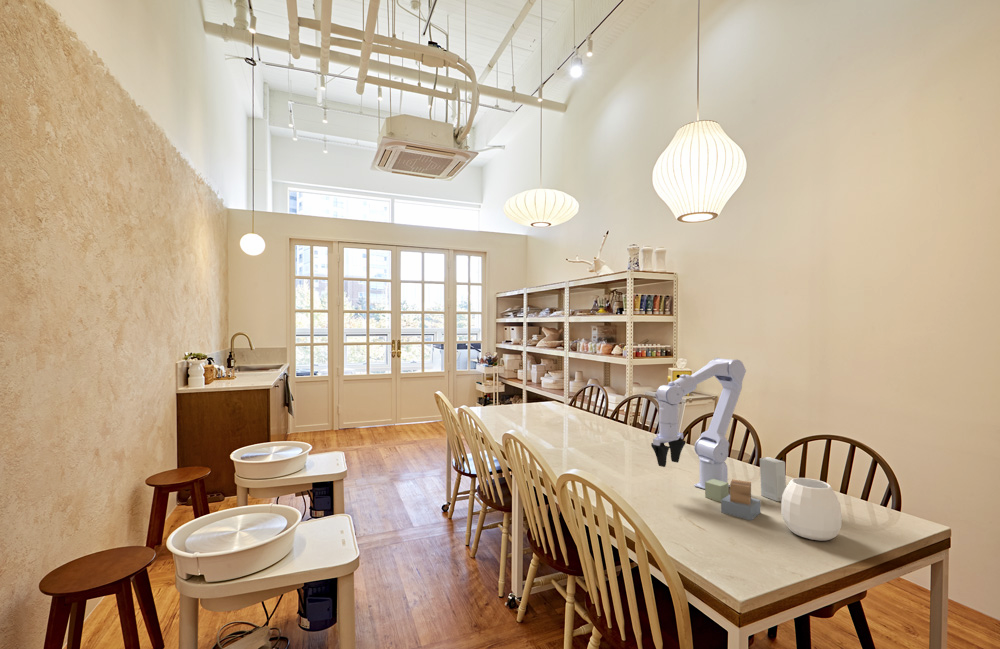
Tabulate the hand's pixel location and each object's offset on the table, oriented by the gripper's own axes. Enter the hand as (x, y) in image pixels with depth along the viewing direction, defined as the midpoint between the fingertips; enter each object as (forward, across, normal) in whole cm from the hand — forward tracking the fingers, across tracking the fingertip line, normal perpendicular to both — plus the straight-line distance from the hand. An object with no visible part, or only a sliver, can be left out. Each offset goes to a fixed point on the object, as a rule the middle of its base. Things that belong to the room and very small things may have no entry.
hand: (668, 464), depth 152 cm
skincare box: (+10, -22, +23) cm, 33 cm away
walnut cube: (+6, -2, +22) cm, 23 cm away
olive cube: (+10, -8, +12) cm, 17 cm away
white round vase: (+10, -2, +40) cm, 41 cm away
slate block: (+10, -2, +22) cm, 24 cm away
